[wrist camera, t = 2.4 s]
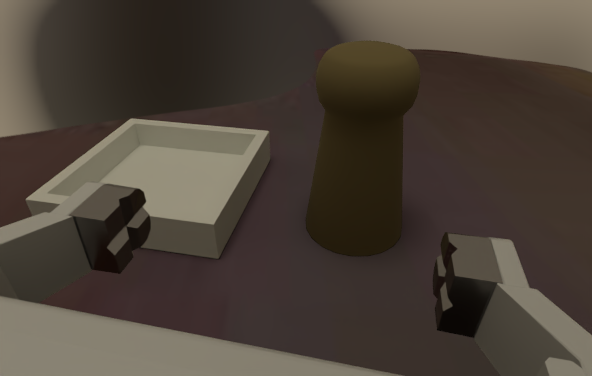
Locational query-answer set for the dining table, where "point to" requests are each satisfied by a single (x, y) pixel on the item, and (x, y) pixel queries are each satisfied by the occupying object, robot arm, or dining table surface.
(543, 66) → the dining table surface
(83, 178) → the tray
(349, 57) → the cork
